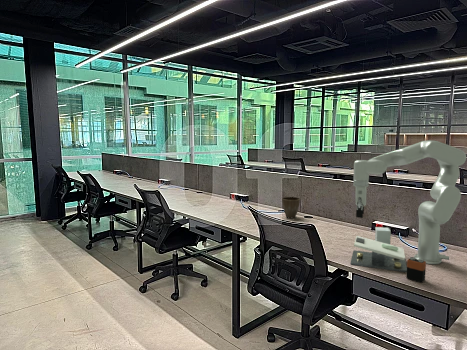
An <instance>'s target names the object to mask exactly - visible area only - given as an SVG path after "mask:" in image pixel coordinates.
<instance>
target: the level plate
mask: <svg viewBox="0 0 467 350" xmlns="http://www.w3.org/2000/svg"><path fill="white" fill-rule="evenodd" d="M353 247H356V248H359V249H362V250H366V251H368V252H376V253H377V255H379V254H383V255H386V256H390V257H394V258H397V259H401V260H404V261H406V256H405V250H404V247H401V246H397V245H393V244H391V243H390V244H386V243H382V242H379V241H375V239H371V238H367V237H363V236H359V235H356V236H355V240H354V244H353Z"/></svg>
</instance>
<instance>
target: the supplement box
mask: <svg viewBox="0 0 467 350" xmlns="http://www.w3.org/2000/svg"><path fill="white" fill-rule="evenodd" d="M374 229H375V231H374V232H375V234H374V237H375V238H374V240H375V241H379V242H382V243H386V244H390V245H391V239H392V238H391V237H392V236H391V234H392V233H391V229H390V227H380V226H377V227H376V226H375V228H374Z"/></svg>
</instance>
